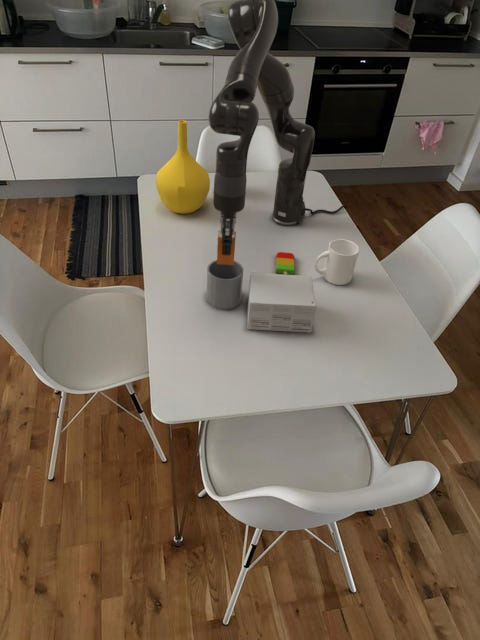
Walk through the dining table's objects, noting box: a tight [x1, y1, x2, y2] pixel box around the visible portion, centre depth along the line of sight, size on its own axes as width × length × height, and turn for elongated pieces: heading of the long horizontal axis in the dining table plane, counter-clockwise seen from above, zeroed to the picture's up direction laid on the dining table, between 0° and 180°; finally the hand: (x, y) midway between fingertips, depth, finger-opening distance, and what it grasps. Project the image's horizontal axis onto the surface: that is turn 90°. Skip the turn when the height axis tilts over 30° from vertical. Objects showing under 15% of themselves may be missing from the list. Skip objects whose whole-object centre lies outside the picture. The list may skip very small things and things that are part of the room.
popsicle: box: [275, 251, 296, 275], centre depth 152 cm, size 6×15×2 cm, turn 176°
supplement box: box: [246, 272, 317, 334], centre depth 133 cm, size 17×13×9 cm
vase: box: [155, 119, 211, 215], centre depth 168 cm, size 18×18×30 cm
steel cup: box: [206, 259, 244, 310], centre depth 137 cm, size 10×10×10 cm
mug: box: [314, 238, 360, 286], centre depth 148 cm, size 9×12×11 cm
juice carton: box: [216, 229, 237, 265], centre depth 129 cm, size 4×3×8 cm
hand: (226, 249), depth 130 cm, fingers closed on juice carton, 3 cm apart
